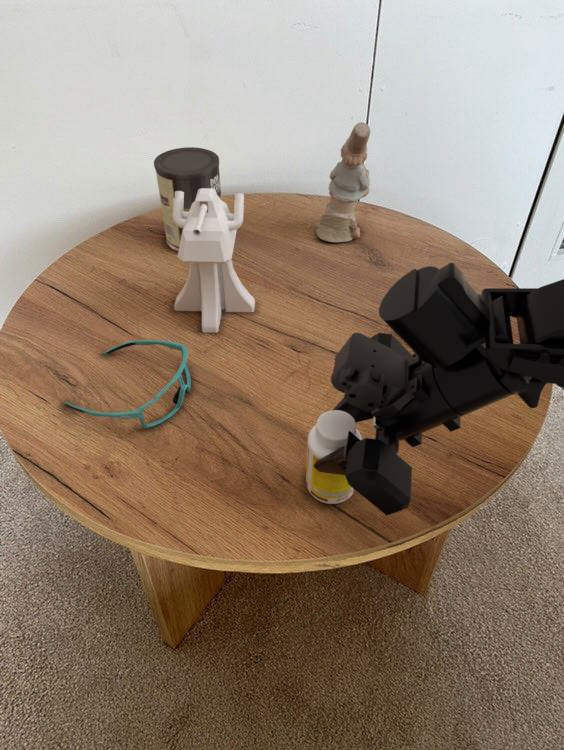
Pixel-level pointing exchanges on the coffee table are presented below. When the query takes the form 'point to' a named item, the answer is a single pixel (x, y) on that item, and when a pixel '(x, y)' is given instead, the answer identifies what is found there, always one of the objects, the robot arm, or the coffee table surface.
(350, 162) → the figurine
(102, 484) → the coffee table surface
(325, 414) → the supplement bottle
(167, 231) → the coffee can
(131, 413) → the sunglasses
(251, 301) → the toy gun turret
